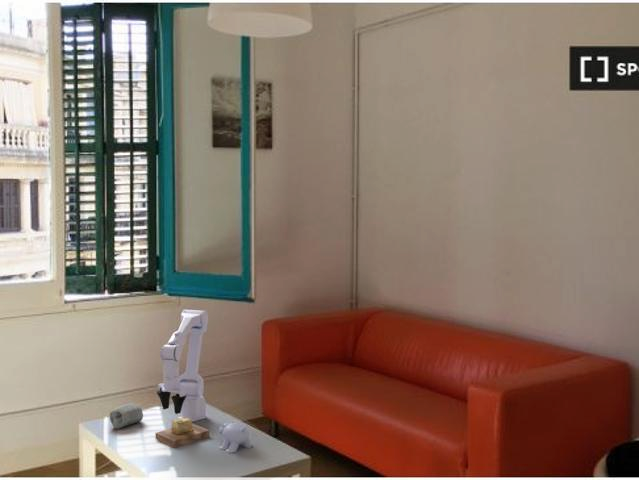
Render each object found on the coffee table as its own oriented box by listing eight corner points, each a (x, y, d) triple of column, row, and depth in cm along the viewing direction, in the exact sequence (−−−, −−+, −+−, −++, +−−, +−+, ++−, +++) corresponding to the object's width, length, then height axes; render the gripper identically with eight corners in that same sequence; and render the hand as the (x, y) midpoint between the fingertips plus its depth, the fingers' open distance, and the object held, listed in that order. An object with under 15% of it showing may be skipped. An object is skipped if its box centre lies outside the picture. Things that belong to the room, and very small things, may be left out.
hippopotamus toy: (234, 437, 288) (234, 412, 287) (258, 448, 277) (258, 422, 276) (210, 444, 281) (210, 418, 280) (234, 455, 270) (233, 429, 269)
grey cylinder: (118, 425, 291) (116, 399, 294) (105, 431, 296) (104, 405, 300) (149, 425, 300) (147, 400, 304) (135, 431, 306) (134, 406, 310)
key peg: (171, 439, 285) (171, 421, 285) (185, 434, 290) (185, 416, 289) (178, 441, 283) (178, 423, 282) (192, 437, 287) (192, 419, 287)
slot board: (190, 428, 296) (190, 422, 296) (209, 436, 288) (209, 430, 288) (155, 439, 285) (155, 432, 285) (174, 447, 277) (174, 441, 276)
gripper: (151, 374, 290) (151, 409, 292) (174, 382, 280) (174, 417, 282) (166, 370, 295) (167, 404, 297) (189, 378, 286) (190, 413, 287)
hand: (171, 411), depth 290 cm, fingers open, 7 cm apart
